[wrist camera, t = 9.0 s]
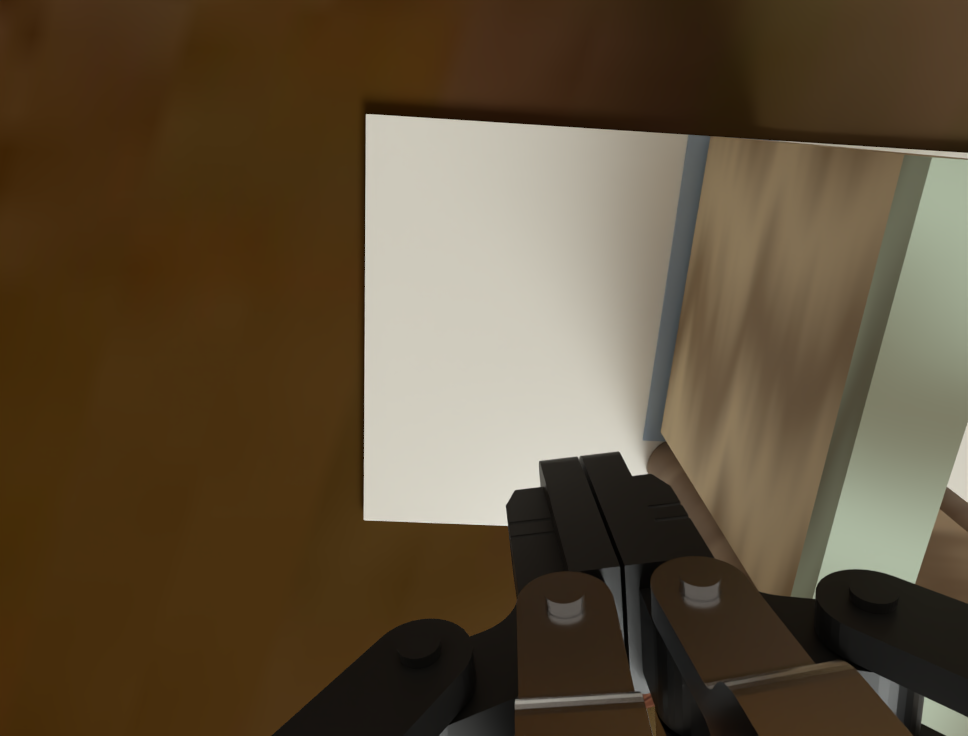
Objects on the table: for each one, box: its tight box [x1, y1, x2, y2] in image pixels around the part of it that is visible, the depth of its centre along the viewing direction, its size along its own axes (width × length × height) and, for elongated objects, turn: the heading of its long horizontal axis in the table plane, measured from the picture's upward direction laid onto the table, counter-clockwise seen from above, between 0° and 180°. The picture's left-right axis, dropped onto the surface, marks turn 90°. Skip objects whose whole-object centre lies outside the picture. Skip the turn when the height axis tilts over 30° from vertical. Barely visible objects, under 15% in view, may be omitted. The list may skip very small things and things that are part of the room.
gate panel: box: [661, 136, 968, 599], centre depth 19 cm, size 10×2×12 cm, turn 176°
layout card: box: [364, 114, 968, 526], centre depth 26 cm, size 24×15×1 cm, turn 86°
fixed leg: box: [647, 441, 968, 736], centre depth 21 cm, size 10×2×13 cm, turn 86°
